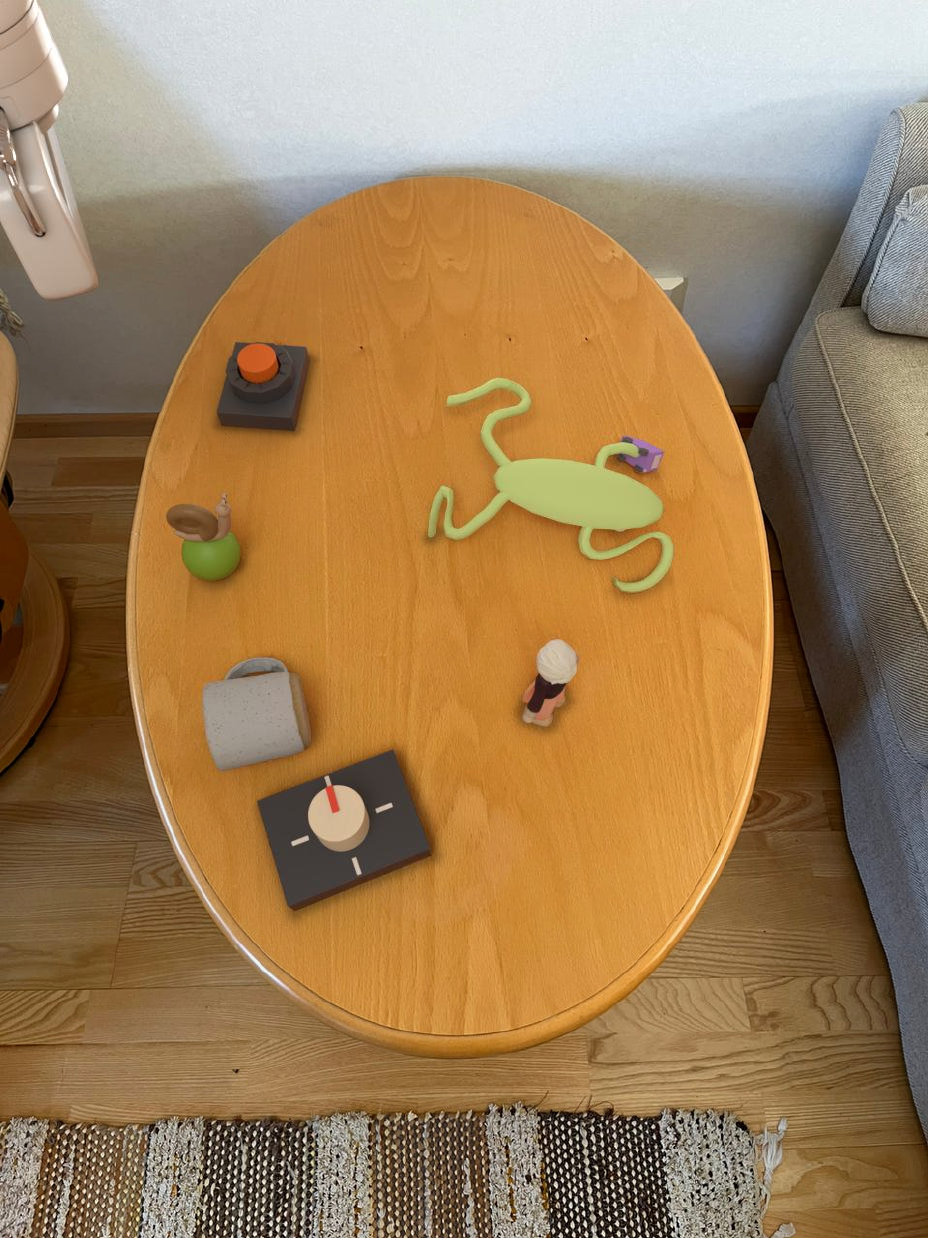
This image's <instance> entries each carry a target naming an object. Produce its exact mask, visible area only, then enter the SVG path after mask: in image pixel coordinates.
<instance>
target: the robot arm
mask: <svg viewBox="0 0 928 1238" xmlns="http://www.w3.org/2000/svg"><path fill="white" fill-rule="evenodd" d="M68 84H69V74H68V70H67V68H66V65H65V62H64V60H63V57H62V55H61V53H60V50H59V48H58V45H57V43H56V40H55V38H54V35H53V33H52V30H51V28H50V25H49V22H48V20H47V18H46V16H45V13H44V10H43V9H42V5H41V3H40V0H0V224H1V226H2V228H3V230H4V232H5V234H6V236H7V237H8V240H9V242H10V244H11V246H12V248H13V250H14V251H15V253H16V255H17V257H18V260H19V261H20V263H21V265H22V266H23V267H22V268H23V269H24V270H25V273H26V274H27V276H28V278H29V280H30V282H31V284H32V286H33V288H34V289H35V290H36V292H37V294H38V295H39V296H40V297H42V299H44V300H46V301H48V302H56V301H61V300H64V299H70V298H74V297H77V296H80V295H84V294H88V293H90V292H93V291H95V290H96V289H97V288H98V287H99V278H98V274H97V269H96V266H95V263H94V259H93V255H92V253H91V249H90V246H89V242H88V238H87V236H86V235H87V234H86V232H85V228H84V225H83V221H82V219H81V214H80V212H79V208H78V204H77V202H76V198H75V195H74V190H73V187H72V184H71V181H70V176H69V174H68V171H67V167H66V163H65V161H64V156H63V153H62V150H61V147H60V144H59V139H58V136H57V133H56V130H55V127H54V124H55V122H56V121H57V119H58V117H59V111H60V110H59V109H60V107H59V103H60V101H61V100H62V98H63V97H64V94H65V93H66V91H67V89H68Z"/></svg>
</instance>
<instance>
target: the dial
mask: <svg viewBox="0 0 928 1238" xmlns="http://www.w3.org/2000/svg"><path fill="white" fill-rule="evenodd" d="M308 820H309V824H310V827H311V829H312V830H313V832H314V833H315V834H316V836H317V837H318V839H319V840H320V841H321V843H322V844H323V845H324V846H325V847H327V848H329V849H331V850H334V851H339V852H342V851H348V850H351V849H353V848H355V847H357V846H358V845H359V844H360V843H361V842H362V841H363V840H364V839H365V837H366V835H367V833H368V830H369V816H368V813H367V810H366V808H365V805H364V803H363V800H362V799H361V797H360V796H359V794H358V793H357V792H356V791H354V790H353V789H351V788H349V787H346V786H342V785H335V786H332V785H331V786H328V787H325V789H323V790H322V791H320V792H319V793H318V794H317V795H316V796H315V797H314V799H313V800H312V802H311V804H310V807H309V811H308Z"/></svg>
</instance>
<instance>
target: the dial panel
mask: <svg viewBox="0 0 928 1238" xmlns="http://www.w3.org/2000/svg"><path fill="white" fill-rule="evenodd" d="M331 785H332V786H335V785H342V786H346V787H349V788H351V789H353V790H354V791H356V792H357V793H358V794H359V796H360V797H361V799H362V800H363V803H364V805H365V808H366V810H367V813H368V816H369V830H368V833H367V835H366V837H365V839H364V840H363V841H362V842H361V843H360V844H359V845H358V846H357V847H355V848H353V849H351V850H348V851H342V852H339V851H334V850H331V849H329V848H327V847H325V846H324V845H323V844H322V843H321V841H320V840H319V839H318V837H317V836H316V834H315V833H314V832H313V830H312V829H311V827H310V824H309V820H308V811H309V807H310V804H311V802H312V800H313V799H314V797H315V796H316V795H317V794H318V793H319V792H320V791H322V790H323V789H325V787H328V786H331ZM256 803H257V806H258V810H259V815H260V816H261V820H262V823H263V826H264V831H265V835H266V837H267V841H268V843H269V848H270V851H271V854H272V858H273V860H274V861H273V862H274V864H275V868H276V871H277V874H278V877H279V881H280V885H281V888H282V891H283V895H284V898H285V901H286V905H287V907H288V908H289V909H291V910H292V911H293V912H297V911H298V910H302V909H303V908H306V907H309V906H311V905H314V904H316V903H318V902H321V901H324V900H326V899H328V898H330V897H333V896H336V895H338V894H341V893H343V892H347V891H349V890H351V889H354V888H356V887H358V886H361V885H363V884H366V883H368V882H370V881H373V880H375V879H378V878H380V877H383V876H385V875H387V874H389V873H392V872H395V871H398V870H400V869H403V868H404V867H407V866H409V865H412V864H414V863H417V862H419V861H423V860H425V859H427V858H429V857H431V856H432V849H431V846H430V843H429V840H428V838H427V835H426V832H425V830H424V826H423V825H422V822H421V819H420V816H419V814H418V811H417V808H416V806H415V803H414V801H413V798H412V796H411V793H410V790H409V787H408V785H407V782H406V780H405V777H404V774H403V771H402V768H401V766H400V764H399V761H398V759H397V756H396V754H395V751H394V749H390V750H387V751H384V752H382V753H380V754H377V755H373V756H372V757H369V758H365V759H364V760H360V761H357V762H356V763H353V764H351V765H348V766H344V767H342V768H340V769H337V770H334V771H332V772H330V773H327V774H324V775H321V776H319V777H316V778H314V779H311V780H308V781H305V782H303V783H299V784H298V785H295V786H293V787H291V788H287V789H284V790H282V791H279V792H277V793H275V794H274V793H273V794H272V795H268V796H265V797H264V798H261V799H259V800H257V801H256Z"/></svg>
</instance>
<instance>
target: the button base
mask: <svg viewBox="0 0 928 1238" xmlns="http://www.w3.org/2000/svg"><path fill="white" fill-rule="evenodd" d="M251 344H265V345H267V346H269V347H271V348H272V349H273V350H274V352H275V355H276V359H277V363H278V372H277V374H276V376H275V377H274V378H273V379H271V380H270V381H267V382H264V383H259V384H258V383H251V382H249V381H247V380H245V379H244V378H243V376H242V375H241V372H240V369H239V366H238V362H237V357H238V354H239V352H240V351H241V350H242V349H243V348H245V347H246V346H248V345H251ZM232 349H233V350H232V353H231V355H230V356H229V357H228V360H227V363H226V367H225V379H224V383H223V387H222V390H221V394H220V398H219V400H218V401H219V402H218V405H217V408H216V415H217V417H218V420H219V423H220V426H223V427H235V428H236V427H237V428H252V429H264V430H265V429H266V430H279V431H292V432H295V430H296V426H297V421H298V417H299V413H300V407H301V403H302V399H303V393H304V389H305V384H306V379H307V375H308V370H309V365H310V357H309V352H308V347H307V346H299V345H287V344H276V343H274V342H261V341H256V342H245V341H244V342H241V341H235V342H234V346H233V348H232Z"/></svg>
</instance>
